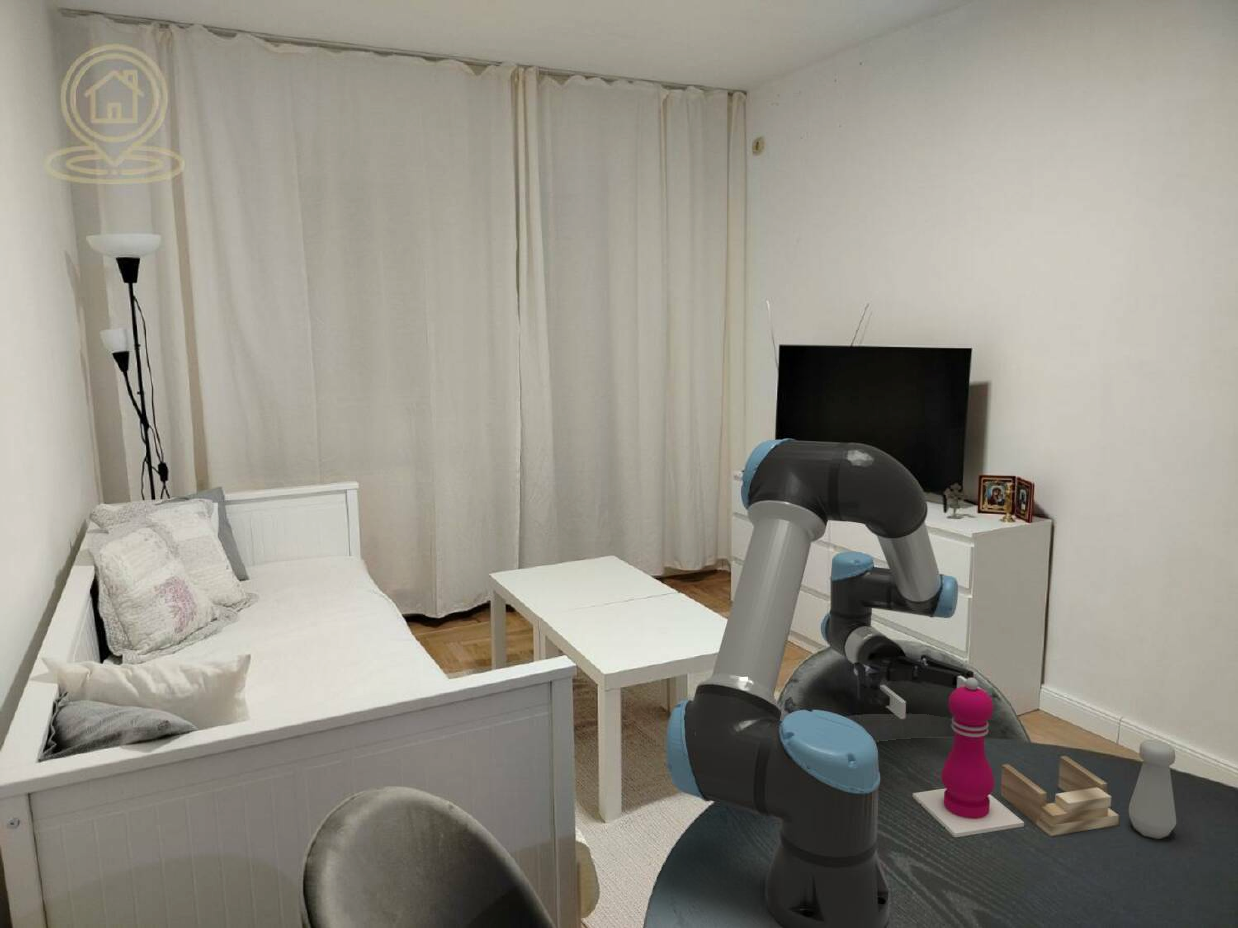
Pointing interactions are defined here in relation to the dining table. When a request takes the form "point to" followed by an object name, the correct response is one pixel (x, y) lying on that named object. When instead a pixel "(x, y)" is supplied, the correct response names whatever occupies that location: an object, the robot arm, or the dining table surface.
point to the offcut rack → (1061, 799)
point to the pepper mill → (968, 753)
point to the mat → (965, 826)
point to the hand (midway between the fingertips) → (944, 705)
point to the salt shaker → (1154, 791)
